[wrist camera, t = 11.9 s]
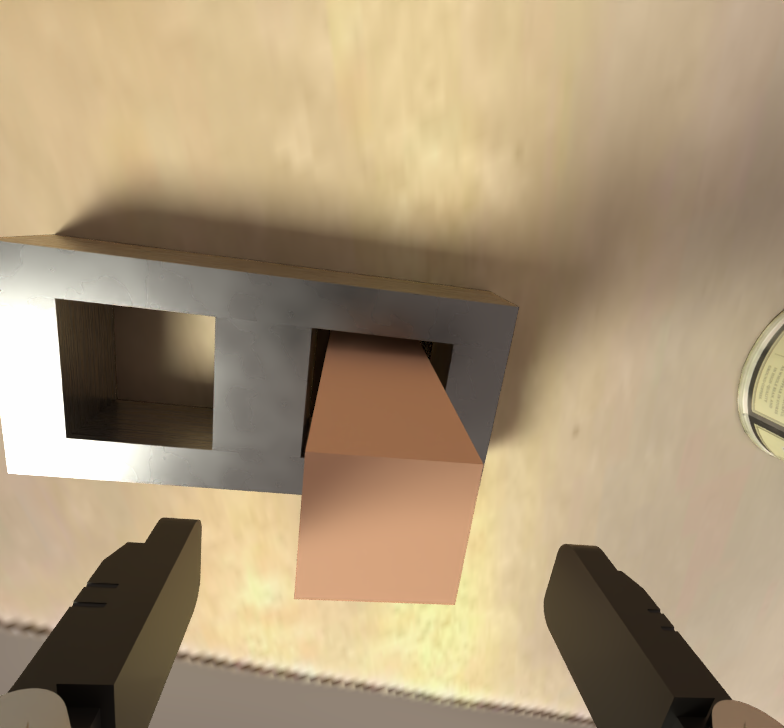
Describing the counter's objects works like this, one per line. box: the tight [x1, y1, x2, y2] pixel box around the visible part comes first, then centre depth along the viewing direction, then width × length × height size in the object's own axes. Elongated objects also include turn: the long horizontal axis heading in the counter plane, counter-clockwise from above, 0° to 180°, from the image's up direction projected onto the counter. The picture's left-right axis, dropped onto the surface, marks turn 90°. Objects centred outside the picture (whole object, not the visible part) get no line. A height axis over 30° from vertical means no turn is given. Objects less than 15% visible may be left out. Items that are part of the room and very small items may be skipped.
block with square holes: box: [0, 234, 519, 495], centre depth 20 cm, size 19×9×4 cm, turn 82°
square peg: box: [294, 330, 484, 605], centre depth 16 cm, size 4×4×12 cm
